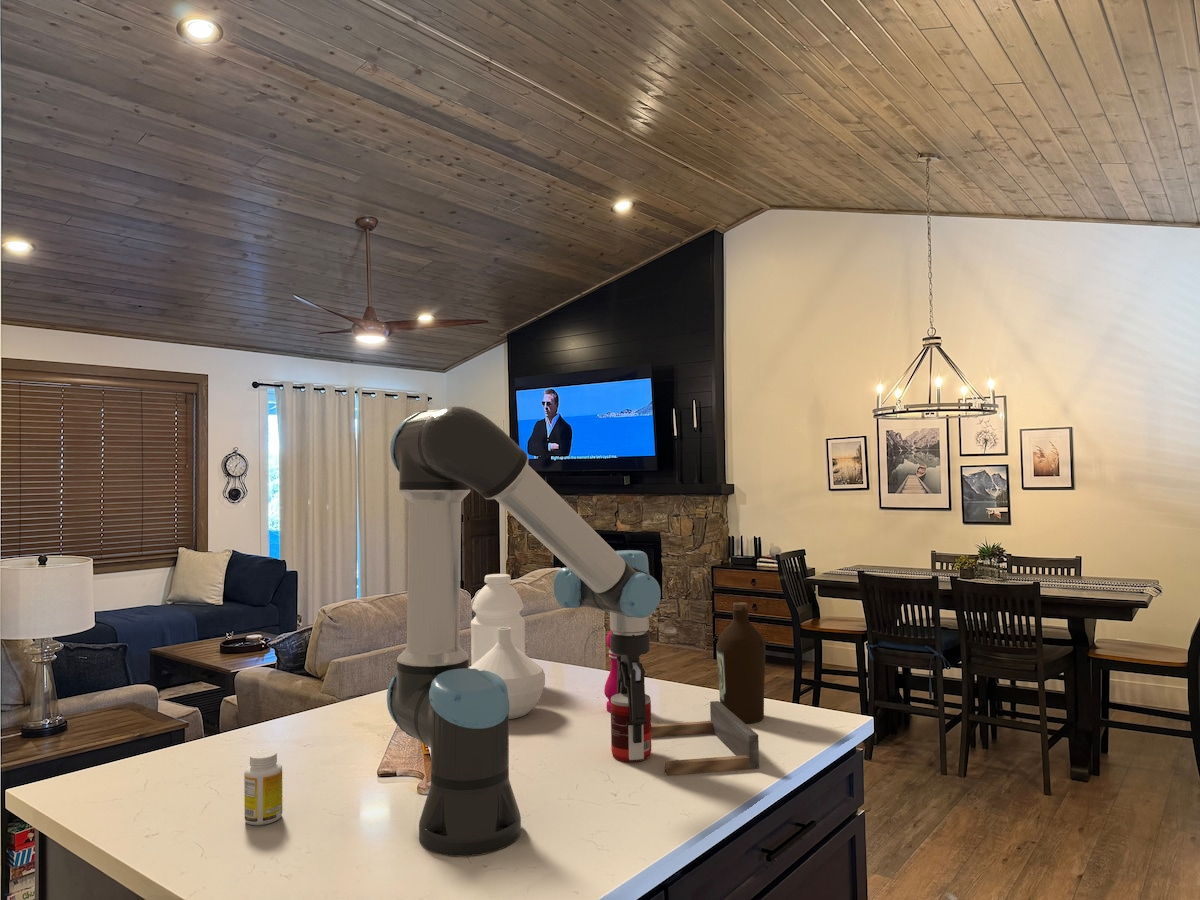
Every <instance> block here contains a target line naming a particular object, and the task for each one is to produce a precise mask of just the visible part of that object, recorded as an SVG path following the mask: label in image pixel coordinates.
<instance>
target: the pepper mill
mask: <svg viewBox="0 0 1200 900" xmlns="http://www.w3.org/2000/svg"><path fill="white" fill-rule="evenodd" d="M612 632H613V631H612V630H610V631H609V632H608V634H607V635H606V645H607V647H608V648H609V650H608V657H609V658H610V670H609V674H608V676H607V679H606V682H605V684H604V688H603V689H604V690H603V691H604V692H603V694H604V696H605V697H606V698H607V700H608V701H606V712H608V713H610V714H611V697H612V696H614V695H616V694H617V671H618V665H617V654H614V653H612V652H611V640H610V635H611V633H612Z"/></svg>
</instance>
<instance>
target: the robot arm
mask: <svg viewBox="0 0 1200 900" xmlns="http://www.w3.org/2000/svg"><path fill="white" fill-rule="evenodd" d="M389 450H390V458H391V461H392V463H393V465H394V467H395V469H396V470H397V471H398V474H399V480H398V481H399V486H398V487H399V493H400V494H401V495H402V496H403V497H404V498H405V499H406V500H407V502H408V516H407V517H408V522H407V523H408V525H407V526H408V528H407V529H408V531H407V533H408V535H407V537H408V538H407V597H406V598H407V601H406V603H407V604H406V607H407V608H406V611H407V613H406V647H405V649H403V651H402V652H401V653H400V654H399V655H398V656H397V658H396V673H395V675H394V676H393V677H392V678H391V680H390V682H389V683H388V688H387V691H386V703H387V704H386V705H387V710H388V713H389V715H390V717H391V719H392V720H393V721H394V722H395V724H396V725H397V726H398V728H399V729H400V730H401V731H403V732H404V733H405V734H406V735H408V736H409V737H412V738H414V739H416V740H418V741H419V742H420V743H422V744H424V745H425V746H427V747H429V749H430V787H429V790H428V793H427V796H426V799H425V803H424V806H423V809H422V812H421V816H420V818H419V824H418V839H419V843H420V845H421V846H422V847H424V848H425V849H427V850H428V851H430V852H433V853H436V854H439V855H444V856H453V857H466V856H467V857H468V856H478V855H483V854H484V855H485V854H489V853H492V852H493V853H494V852H495V851H499V850H502V849H504V848H506V847H507V846H510V845H511V844H513V843H514V842H515V841H516V840H517V839H518V838H519V837H520V835H521V832H522V817H521V812H520V810H519V807H518V803H517V800H516V797H515V794H514V790H513V787H512V784H511V782H510V775H509V771H510V769H509V768H510V762H509V761H510V757H509V755H510V750H509V746H510V745H509V744H510V743H509V742H510V739H509V738H510V736H509V735H510V734H509V731H510V729H509V728H510V727H509V726H510V725H509V724H510V723H509V720H510V719H509V708H510V704H509V699H508V690H507V685H506V683H505V682H504V680H503V679H502V678H501V677H499V676H498V675H496V674H494V673H492V672H489V671H485V670H482V671H479V670H478V669H471V668H469V666H470V665H469V661H470V660H469V658H470V655H469V654H468V652H466V651H465V650H464V649H463V648H462V646H461V644H460V642H461V641H460V640H461V639H460V636H461V635H460V634H461V632H460V631H461V629H460V628H461V627H460V626H461V621H460V620H461V619H460V617H461V615H460V614H461V551H462V549H461V548H462V547H461V544H462V543H461V539H462V538H461V537H462V536H461V534H462V502H463V501H464V499H465V498H466V497H467V496H468V494H469V493H471V488H472V489H473V490H475V491H476V492H477V493H478V494H479V495H480V496H481V497H483V498H484V499H485V500H496V502H497V503H498V504H499V505H500V506H501V507H503V508H504V509H505V511H507V512H508V513H509V514H510V515H511V516H513V517H514V518H515V519H516V521H518V522H519V523H520V524H521V525H522V526H523V527H524V528H525V529H526V530H527V531H528V532H529V533H531V535H533V536H534V537H535V538H536V540H538V541H539V542H540V543H541V544H542V545H543V546H545V548H546V549H548V550H549V551H550V552H551V554H553V555H554V556H555V557H557V558H558V560H559V561H561V562H562V564H564V566H566V567H562V568H560V569H558V570H557V572H556V574H555V575H554V577H553V585H552V586H553V587H552V588H553V590H552V591H553V596H554V598H555V601H556V602H557V603H558V605H559V606H560V607H562V608H564V609H579V608H591V609H594V610H600V611H604V612H609V629H610V631H613V632H612V633H611V635H610V640H611V652H612V653H614V654H617V665H618V671H617V694H619V693H621V694H627V695H628V703H629V717H630V722H626V725H627V726H628V731H629V760H639V759H644V729H643V725H644V724H646V722H647V719H646V705H645V694H646V687H645V676H646V675H645V674H646V671H645V668H644V667H643V663H642V662H641V661H640V656H642V655H646V654H648V653H649V652H650V651H651V647H650V645H651V644H650V639H651V638H650V635H651V634H650V633H649V632H648V631H649V630H650V620H649V619H651V618H652V617H653V615H652V614H653V613H654V612H655V611H656V609H657V608H658V606H659V604H660V602H661V588H660V587H661V586H660V584H659V582H658V581H657V579H656V578H654V577H653V576H652V575H650V569H649V559H648V555H647V553H646V552H644V551H641V550H633V549H632V550H631V549H628V550H626V549H625V550H615V549H614V548H612V546H610V544H608V542H606V541H605V540H604V538H602V537H601V535H600V534H599V533H597V532H596V531H595V530H594V529H593V528H592V527H591V526H590V524H589V523H588V522H587V521H586V520H584V519H583V518H582V517H581V516H580V514H579V513H577V511H575V509H573V508H572V506H570V504H569V503H567V502H566V501H565V499H563V497H561V495H560V494H558V493H557V492H556V491H555V490H554V489H553V487H551V486H550V485H549V484H548V482H547V481H545V479H544V478H542V476H541V475H540V474H538V473H537V472H536V470H534V469H533V468H532V467H531V466H530V465H529V455H528V453H526V452H525V451H524V450H523V449H522V448H521V447H520V446H519V444H518V443H516V442H515V440H514V439H513V438H511V437H510V436H509V435H508V434H507V433H506V432H505V431H504V430H503V429H502V428H500V427H499V426H498V425H497V424H496V423H494V422H493V421H492V420H491V419H489V418H488V417H486V415H484V414H483V413H480V412H479V411H476V410H475V409H472V408H468V407H465V406H450V407H449V406H448V407H445V408H438V409H437V408H436V409H428V410H422V411H420V412H416V413H415V414H413V415H411V416H408V417H407V418H405V419H404V420H403V421H402V422H401V423H400V424H399V425H398V426H397V427H396V429H395V431H394V433H393V435H392V436H391V441H390V448H389ZM636 717H638V718H636Z"/></svg>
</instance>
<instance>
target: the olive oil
mask: <svg viewBox="0 0 1200 900" xmlns="http://www.w3.org/2000/svg"><path fill="white" fill-rule="evenodd" d="M732 607H733V609H732V621H731V622H730V623H729V624H728V625H727V626H726V627H725V628H724V629H723V631H722V632H721V633H720V635H719V636H718V639H717V643H716V657H717V658H716V659H717V673H718V674H717V676H718V689H719V690H718V692H719V694H718V695H719V702H720V703H721V704H723V705H724V706H725V707H726V708H727V709H728V710H730V711H731V712H732V713H733V714H734V715H736V716H737V717H738V718H739V719H740V720H741V721H743V722H744V723H745V724H754V723H759V722H761V721H763V719H764V718H765V679H766V678H765V676H766V673H765V672H766V655H767V654H766V652H767V651H766V642H765V640H764V637H763V636H762V634H761V633H760V631H759V630H757V628H756V627H755V626H754V625H753V624H752V623H751V622H750V620H749V609H748V603H747V602H745V601H744V602H742V601H739V602H737V601H736V602H733V604H732Z"/></svg>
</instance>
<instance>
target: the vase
mask: <svg viewBox="0 0 1200 900" xmlns="http://www.w3.org/2000/svg"><path fill="white" fill-rule="evenodd" d="M469 668H471V669H478V670H479V671H482V670H485V671H489V672H492V673H494V674H496V675H498V676H499V677H501V678H502V679H503V680H504V682H505V683H506V685H507V690H508V699H509V704H510V708H509V720H514V719H518V718H521V717H524V716H526V715H527V714H528V713H530V711H532V710H533V709H534V708H535V706H536V705H537V703H538V702H539V701H540V698H541V697H542V695H543V694H542V693H543V691H544V689H545V685H546V673H545V671H544V668H543V667H542V666H541V665H540V664H539V663H537V662H536V661H535V660H533V659H532V658H531V657H529V656H527V655H526V653H525V654H524V653H522V652H521V651H520V650H519V649H517V648H516V647H515V646H514V645H513V643H512V642H511V628H509V627H501V628H498V640H497V643H496V645H495V646H494V647H493V648H492V649H491V650H490V651H489V652H488V653H486V654H485V655H484V656H483V657H482V658H481V659H479V660H478V661H477V662H476V663H474V664H473V665H472V664H471V666H470V667H469Z"/></svg>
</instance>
